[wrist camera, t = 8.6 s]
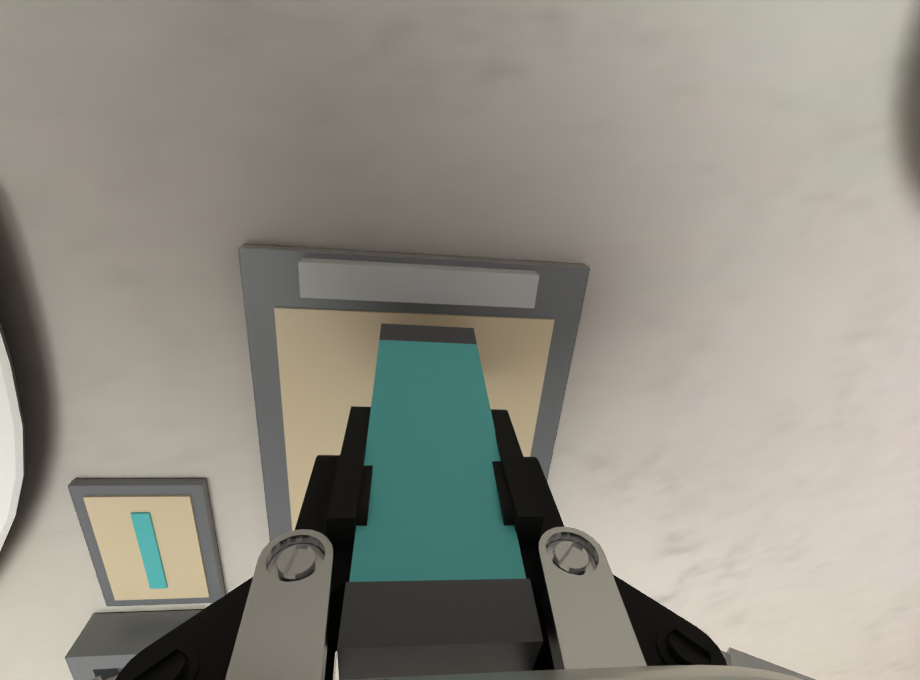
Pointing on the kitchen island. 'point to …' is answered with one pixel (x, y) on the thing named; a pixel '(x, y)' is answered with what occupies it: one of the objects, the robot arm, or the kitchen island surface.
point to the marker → (434, 524)
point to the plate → (10, 441)
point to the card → (150, 540)
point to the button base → (118, 640)
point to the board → (357, 340)
